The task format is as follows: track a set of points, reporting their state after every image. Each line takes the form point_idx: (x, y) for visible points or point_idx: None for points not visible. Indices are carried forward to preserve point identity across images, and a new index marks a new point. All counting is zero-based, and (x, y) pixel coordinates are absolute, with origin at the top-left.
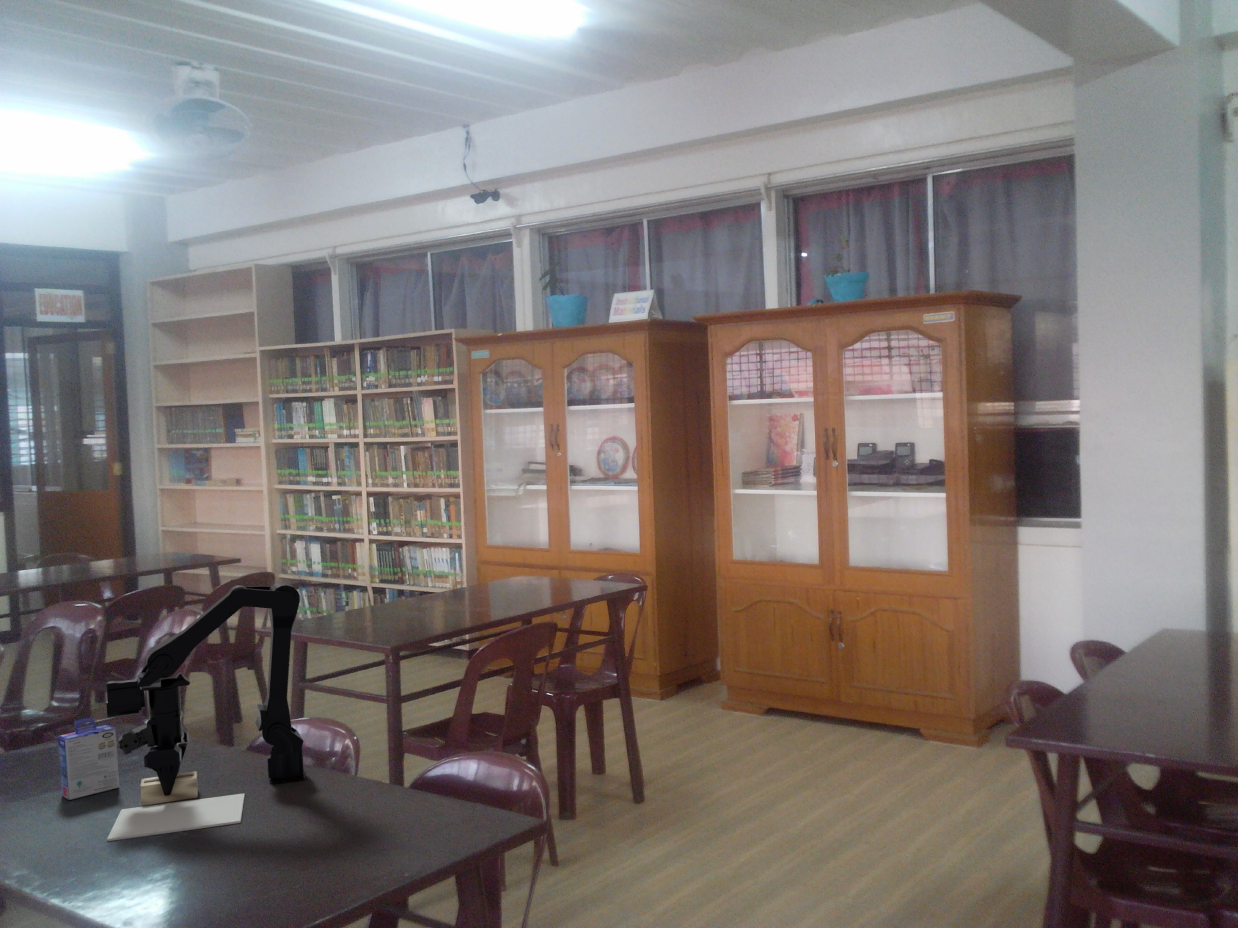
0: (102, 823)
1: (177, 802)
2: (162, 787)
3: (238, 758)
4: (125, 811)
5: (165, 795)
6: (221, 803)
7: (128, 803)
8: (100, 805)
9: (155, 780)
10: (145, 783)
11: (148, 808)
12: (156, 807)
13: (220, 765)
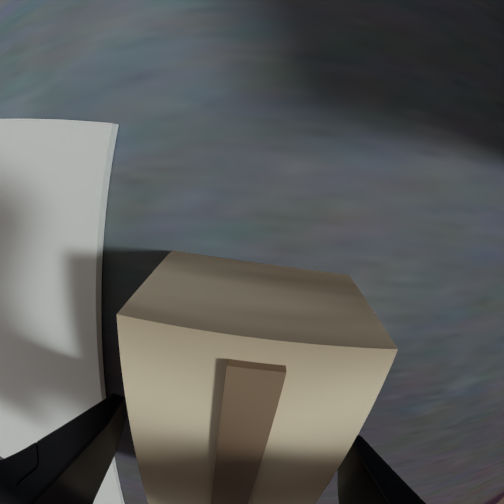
0: (6, 55)
1: (97, 402)
2: (76, 419)
3: (476, 496)
4: (62, 151)
5: (113, 395)
6: None
7: (280, 173)
8: (354, 14)
9: (219, 436)
10: (200, 366)
11: (55, 279)
12: (57, 317)
13: (473, 482)
